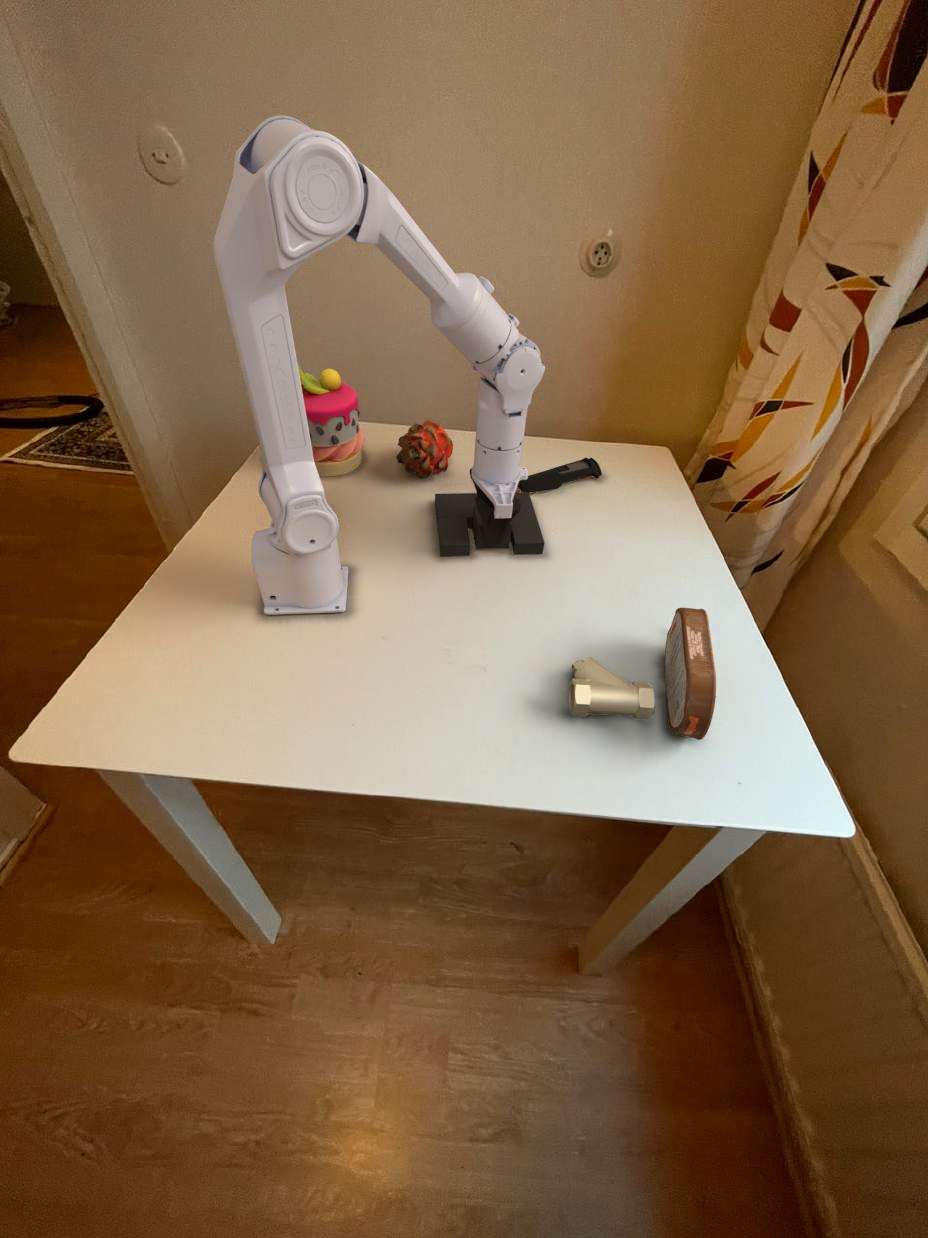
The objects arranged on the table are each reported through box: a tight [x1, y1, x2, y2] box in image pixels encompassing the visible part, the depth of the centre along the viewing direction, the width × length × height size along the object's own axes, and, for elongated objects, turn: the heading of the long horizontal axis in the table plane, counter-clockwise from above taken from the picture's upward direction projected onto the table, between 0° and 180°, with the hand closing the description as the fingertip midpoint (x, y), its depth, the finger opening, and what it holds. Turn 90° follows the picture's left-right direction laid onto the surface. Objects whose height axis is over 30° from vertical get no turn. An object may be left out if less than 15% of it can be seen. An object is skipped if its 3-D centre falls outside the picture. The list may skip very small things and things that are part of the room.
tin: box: [664, 607, 717, 741], centre depth 58 cm, size 15×3×8 cm, turn 168°
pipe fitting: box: [567, 657, 656, 721], centre depth 59 cm, size 8×4×7 cm
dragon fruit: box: [396, 419, 454, 479], centre depth 87 cm, size 8×8×12 cm
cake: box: [297, 361, 365, 477], centre depth 85 cm, size 10×11×15 cm
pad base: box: [434, 491, 546, 558], centre depth 79 cm, size 14×12×2 cm
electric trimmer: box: [517, 457, 603, 494], centre depth 88 cm, size 4×16×3 cm, turn 118°
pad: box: [471, 505, 512, 550], centre depth 76 cm, size 5×5×4 cm
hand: (490, 530), depth 76 cm, fingers closed on pad, 4 cm apart
